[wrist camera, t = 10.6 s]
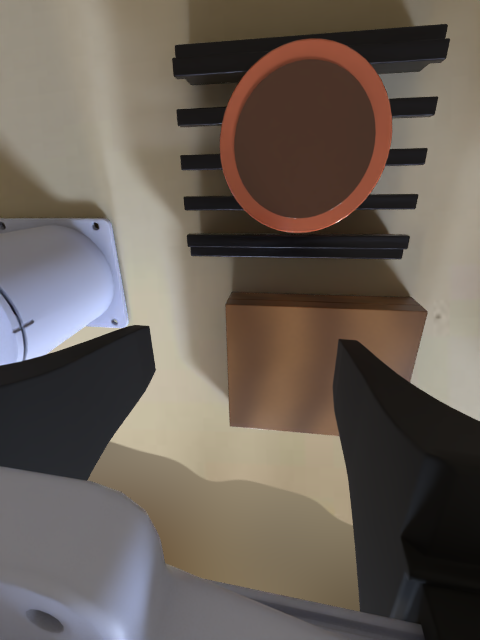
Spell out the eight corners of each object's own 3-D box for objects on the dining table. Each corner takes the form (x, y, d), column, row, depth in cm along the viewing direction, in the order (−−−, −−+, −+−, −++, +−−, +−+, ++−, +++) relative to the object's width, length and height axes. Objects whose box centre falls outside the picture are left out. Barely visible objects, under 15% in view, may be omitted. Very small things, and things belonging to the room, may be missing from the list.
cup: (243, 216, 17) (222, 232, 11) (241, 96, 15) (215, 44, 9) (346, 216, 16) (377, 233, 11) (361, 90, 14) (410, 29, 8)
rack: (201, 248, 21) (188, 258, 18) (189, 63, 17) (170, 40, 14) (388, 250, 19) (405, 261, 17) (424, 46, 15) (454, 17, 12)
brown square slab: (234, 405, 26) (229, 426, 24) (231, 291, 22) (225, 304, 19) (385, 417, 24) (395, 441, 22) (412, 297, 20) (428, 311, 18)
